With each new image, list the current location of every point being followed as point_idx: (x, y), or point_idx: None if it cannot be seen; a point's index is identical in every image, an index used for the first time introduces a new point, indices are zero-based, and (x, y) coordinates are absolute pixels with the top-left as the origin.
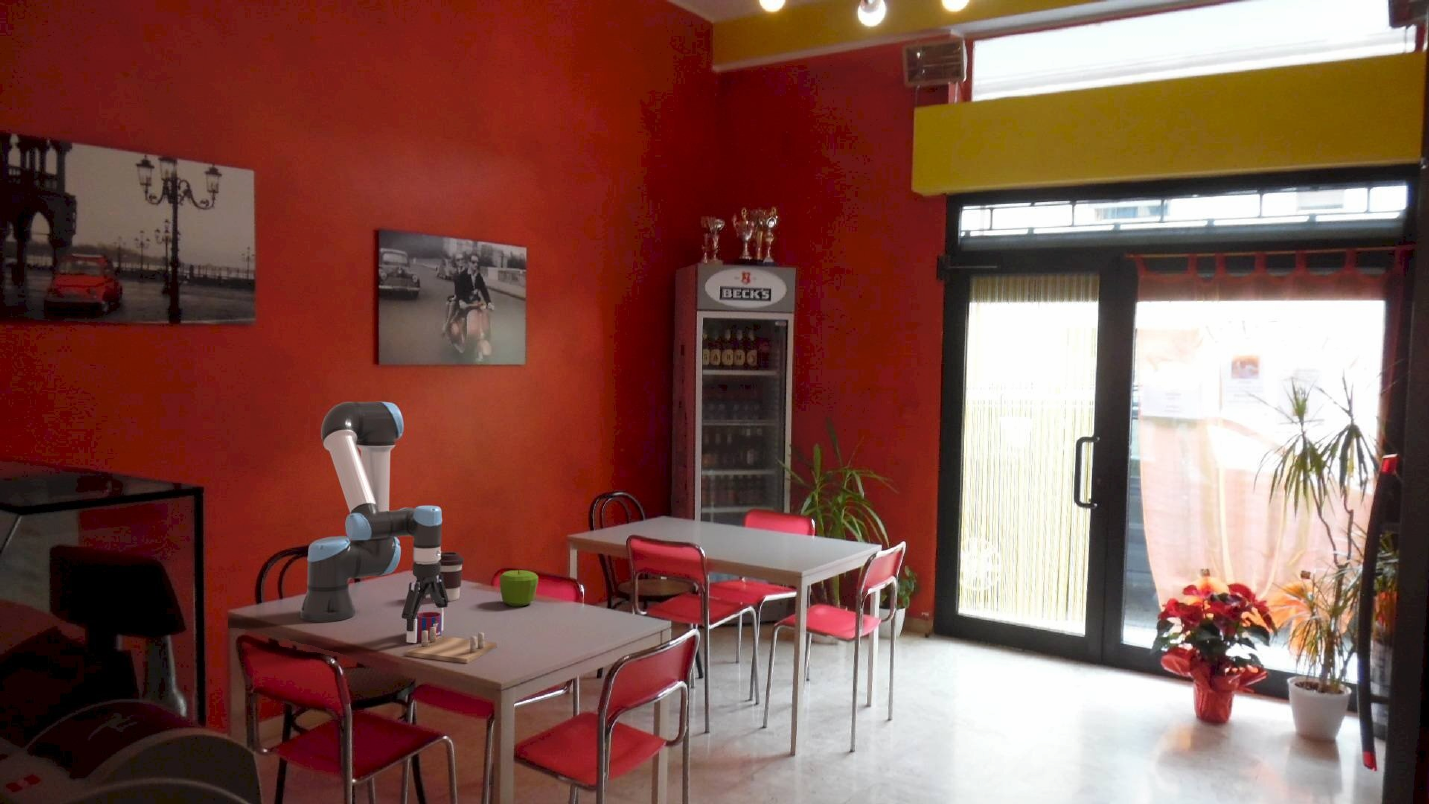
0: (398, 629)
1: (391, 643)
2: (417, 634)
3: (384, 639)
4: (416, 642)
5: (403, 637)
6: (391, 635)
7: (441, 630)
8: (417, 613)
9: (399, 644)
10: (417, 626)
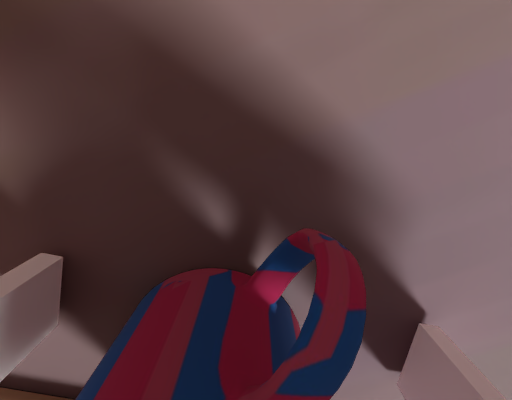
0: (453, 11)
1: (13, 133)
2: (129, 321)
3: (105, 19)
4: (54, 324)
5: (205, 161)
6: (243, 29)
7: (399, 384)
8: (309, 388)
9: (11, 206)
10: (95, 374)
